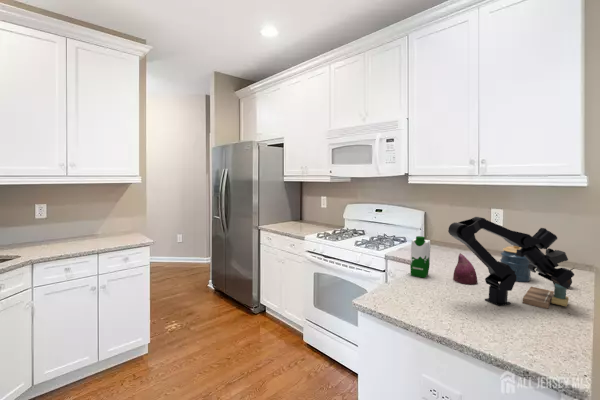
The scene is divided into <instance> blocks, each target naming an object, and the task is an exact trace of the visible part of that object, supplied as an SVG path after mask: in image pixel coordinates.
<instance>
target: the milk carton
mask: <svg viewBox="0 0 600 400" xmlns="http://www.w3.org/2000/svg"><path fill="white" fill-rule="evenodd" d="M425 238H426V237H425V236H420V235H418V236H416V237H415V238H413V239H412V240H411V242H410V243H411V245H410V246H411V247H410V263H409V264H410V266H409V267H410V276H411V277H417V278H422V279H426V278H427V276H428V275H429V270H430V264H431V263H430V262H431V240H430V239H425Z"/></svg>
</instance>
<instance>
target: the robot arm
mask: <svg viewBox="0 0 600 400" xmlns="http://www.w3.org/2000/svg"><path fill="white" fill-rule="evenodd" d="M481 229H482V230H483V231H486V232H489V233H491V234H493V235H496V236H497V237H500V238H502V239H503V240H504V241H505V242H507V243H508V244H510V245H511V246H513V245H514V246H518V247H521V249H519V250H518V249H517V252H516V256H519V257H523V256H525V257H526V258H527V259H528V260H529V261H530V262H529V263H530V264H529V265H528V268H529V270H530V271H531V273H534V274H535V273H537V275H538V276H540V277H542V278H543V279H546V280H548V281H550V282H552V283H553V282H554V283H556V284H559V285H561V286H563V287H565V288H566V290H567V289H569V288H570V287H569V285H568V283H567V281H568V280H569V279H570V278H571V279H572V278H573V277H574V276H575V273H574V272H573V270H571V269H569V268H565V267H559V266H560V265H559V264H561V263H563V262H567V261H569V258H568V256H567V253H566V252H565V251H564V250H559V249H552V248H550V247H551V246H552V245H553V244H554V243H555V242H556V241H557V240H558V236H557V235H556V234H554V232H552V231H549V230H548V229H547V228H546V227H540V228H539V229H538V231H537V232H535V234H534V235H530V234H529V233H525V232H520V231H516V230H511V229H509V228H506V227H504V226H501V225H499V224H497V223H495V222H492V221H490V220H487V219H486V218H484V217H480V216H474V217H471V218H470V219H465V220H461V221H458V222H452V223H451V224H450V225H449V226H448V230H447V231H448V234H449V235H450V236H451V237H453V238H454V239H456V240H457V241H459V242H460V243H462V244H464V245H465V247H467V248H468V249H469V250H470V251H471V253H473V255H475V256H476V257H477V259H479V260H480V261H481V262H482V264H483V265H485V266H486V268H487V269H488V273H489V275H488V276H487V277H485V279H484V281H485V284H487V285H489V287H488V297H486V298H484V301H486V302H489V303H491V304H493V305H496V306H498V307H501V306H507V305H511V303H512V302H510V301H508V293H509V292H511V291H513V288H514V286H515V283H516V282H517V281H516V278H517V276H516V274H515V271H513V270H512V269H511V267H510V266H509V265H507V264H505V263H502V262H501V261H500V260H499V261H498V260H497V259H496V258H495V257H494V256H493V255H492V254H491V253H490V252H489V251H488V250H487V249H486V248H485V247H484V246H483V245H482V244H481V243H480V241H478V240H477V238H476V234H477V233H478V232H479V231H481ZM542 250H545V253H544V252H543V251H542ZM556 268H558V269H556ZM508 291H509V292H508Z"/></svg>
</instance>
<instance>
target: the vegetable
mask: <svg viewBox="0 0 600 400" xmlns="http://www.w3.org/2000/svg"><path fill="white" fill-rule="evenodd" d="M457 259H458V260H457V262H456V263H457V264H456V265H455V268H454V272H453V277H452V280H453V281H454V282H456V283H459V284H462V285H468V286H470V285H471V286H472V285H473V286H474V285H477V284H478V277H477V272H476V268H475V267H474V265H473V264H472V263H471V262H470V260H469V259H468V258H467V257H466V256H465V255H464V254H462V253H461V252H459V254H458V258H457Z"/></svg>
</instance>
